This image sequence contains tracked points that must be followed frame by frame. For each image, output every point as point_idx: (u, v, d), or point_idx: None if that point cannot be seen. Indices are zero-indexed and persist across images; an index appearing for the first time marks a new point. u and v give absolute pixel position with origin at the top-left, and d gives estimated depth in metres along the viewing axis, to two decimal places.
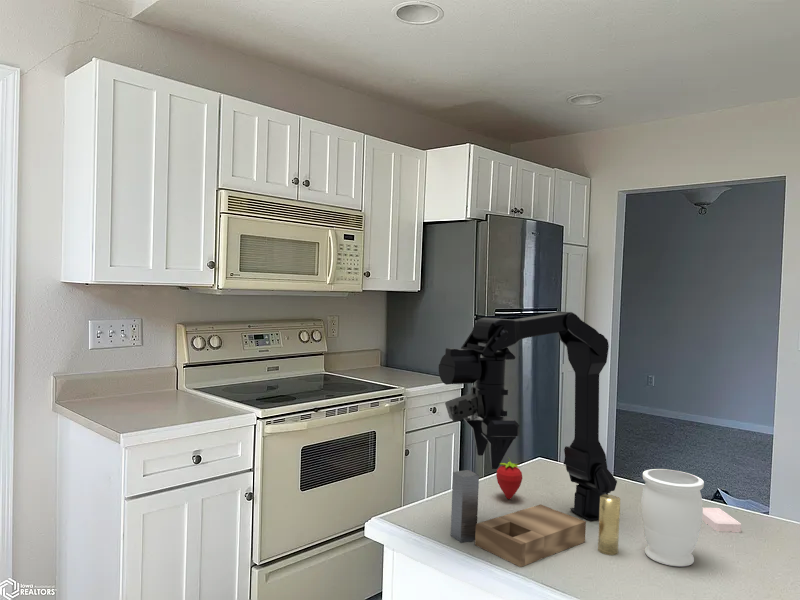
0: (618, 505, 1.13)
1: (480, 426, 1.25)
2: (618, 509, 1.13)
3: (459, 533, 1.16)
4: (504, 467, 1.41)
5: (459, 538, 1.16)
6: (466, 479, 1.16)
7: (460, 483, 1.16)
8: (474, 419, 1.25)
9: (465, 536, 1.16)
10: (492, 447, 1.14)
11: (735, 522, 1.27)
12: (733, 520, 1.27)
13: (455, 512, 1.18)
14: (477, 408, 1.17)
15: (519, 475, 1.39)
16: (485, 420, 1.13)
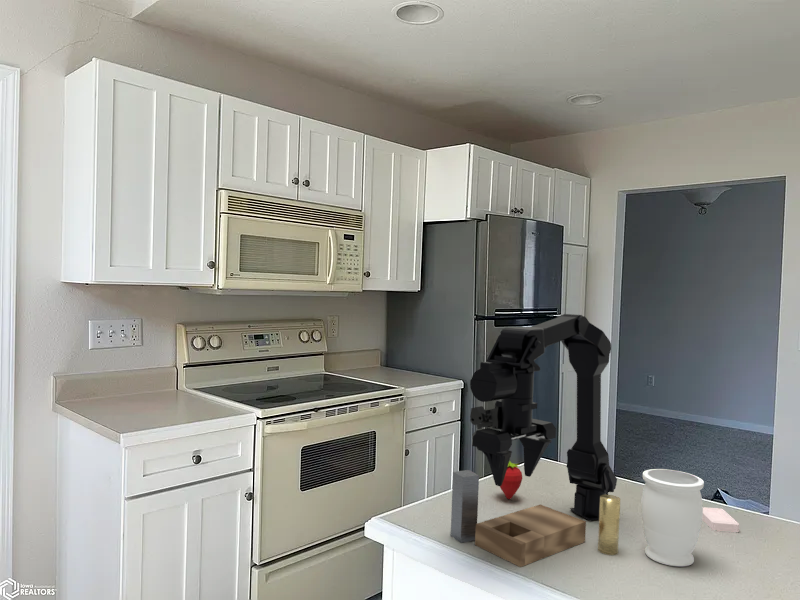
0: (618, 505, 1.13)
1: (529, 445, 1.16)
2: (618, 509, 1.13)
3: (459, 533, 1.16)
4: None
5: (459, 538, 1.16)
6: (466, 479, 1.16)
7: (460, 483, 1.16)
8: (526, 436, 1.18)
9: (465, 536, 1.16)
10: (489, 461, 1.09)
11: (733, 522, 1.26)
12: (731, 520, 1.27)
13: (455, 512, 1.18)
14: (492, 419, 1.13)
15: (519, 475, 1.39)
16: None
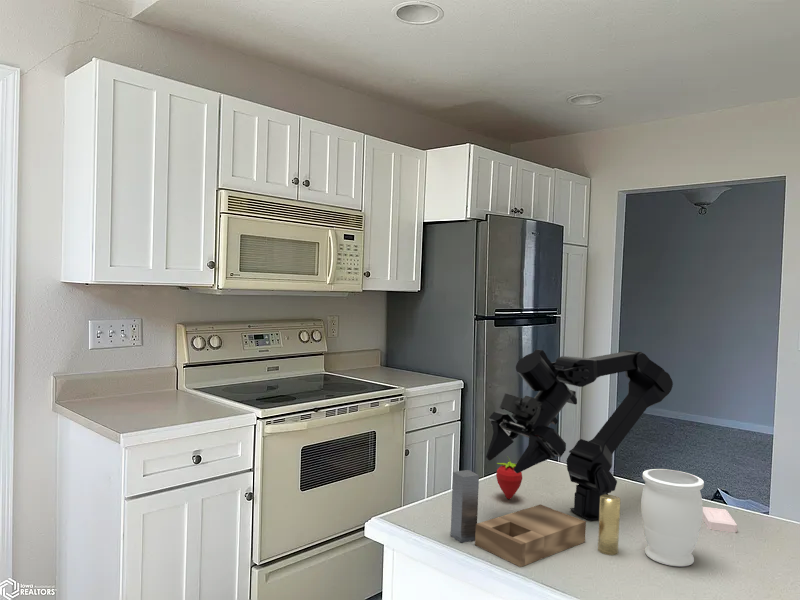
0: (618, 505, 1.13)
1: (503, 436, 1.28)
2: (618, 509, 1.13)
3: (459, 533, 1.16)
4: (504, 467, 1.41)
5: (459, 538, 1.16)
6: (466, 479, 1.16)
7: (460, 483, 1.16)
8: (502, 427, 1.28)
9: (465, 536, 1.16)
10: (531, 452, 1.17)
11: (730, 522, 1.26)
12: (729, 521, 1.27)
13: (455, 512, 1.18)
14: (533, 415, 1.21)
15: (519, 475, 1.39)
16: (542, 426, 1.18)
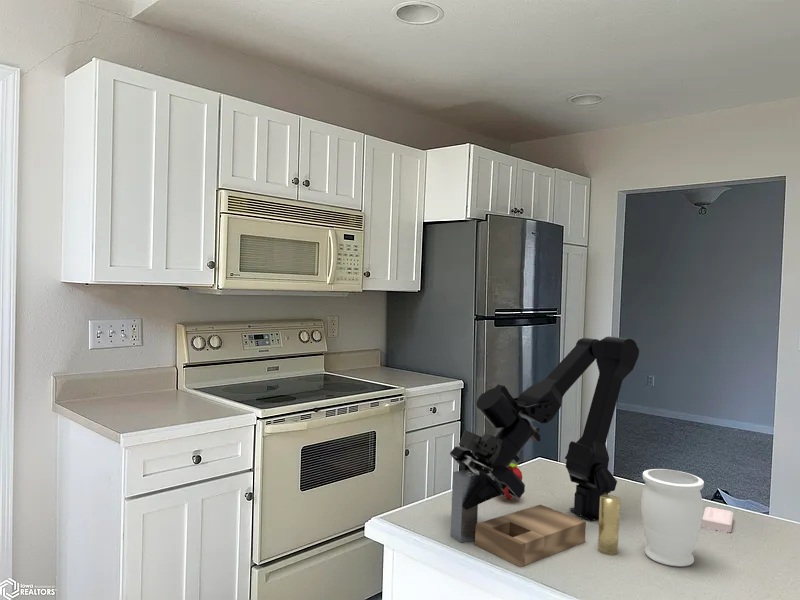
0: (618, 505, 1.13)
1: None
2: (618, 509, 1.13)
3: (459, 533, 1.16)
4: None
5: (459, 538, 1.16)
6: (466, 479, 1.16)
7: (460, 483, 1.16)
8: (470, 467, 1.22)
9: (465, 536, 1.16)
10: (480, 488, 1.15)
11: (724, 522, 1.27)
12: (724, 520, 1.27)
13: (455, 512, 1.18)
14: (493, 453, 1.17)
15: (519, 475, 1.39)
16: (501, 466, 1.14)
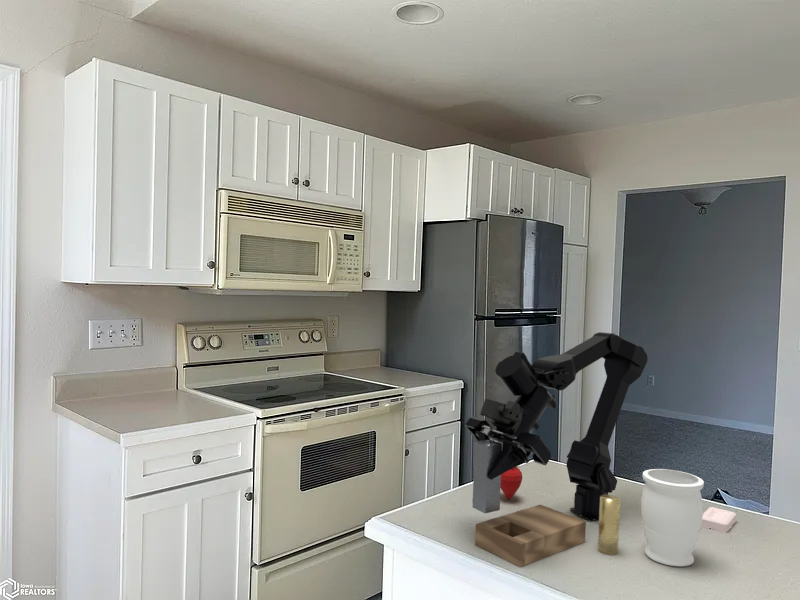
0: (618, 505, 1.13)
1: None
2: (618, 509, 1.13)
3: (483, 504, 1.14)
4: None
5: (483, 509, 1.13)
6: (490, 449, 1.13)
7: (484, 453, 1.13)
8: (489, 437, 1.19)
9: (490, 507, 1.14)
10: (505, 457, 1.13)
11: (720, 522, 1.27)
12: (721, 520, 1.27)
13: (478, 483, 1.15)
14: (515, 421, 1.15)
15: (519, 475, 1.39)
16: (527, 433, 1.12)
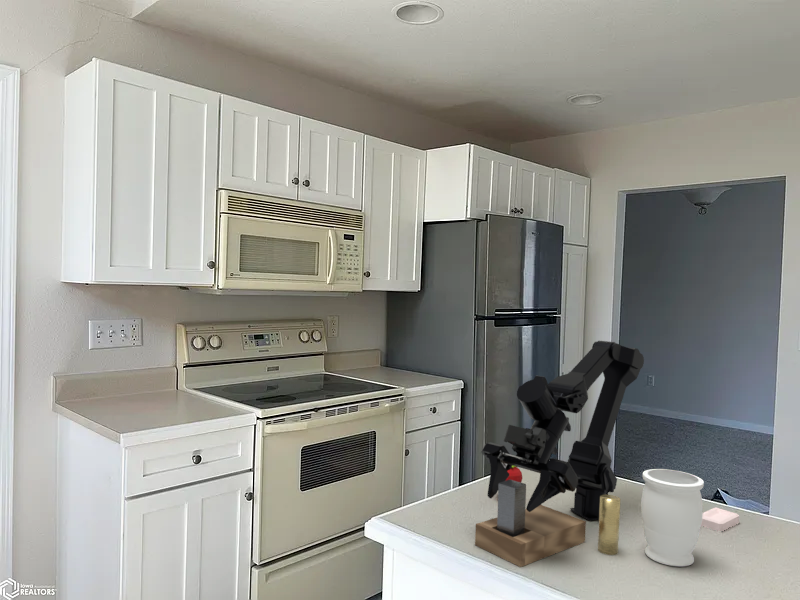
0: (618, 505, 1.13)
1: (501, 470, 1.18)
2: (618, 509, 1.13)
3: None
4: None
5: None
6: (517, 490, 1.11)
7: (511, 495, 1.11)
8: (500, 461, 1.19)
9: None
10: (544, 488, 1.09)
11: (716, 521, 1.27)
12: (718, 519, 1.28)
13: (503, 525, 1.12)
14: (540, 447, 1.14)
15: (519, 475, 1.39)
16: (555, 460, 1.11)
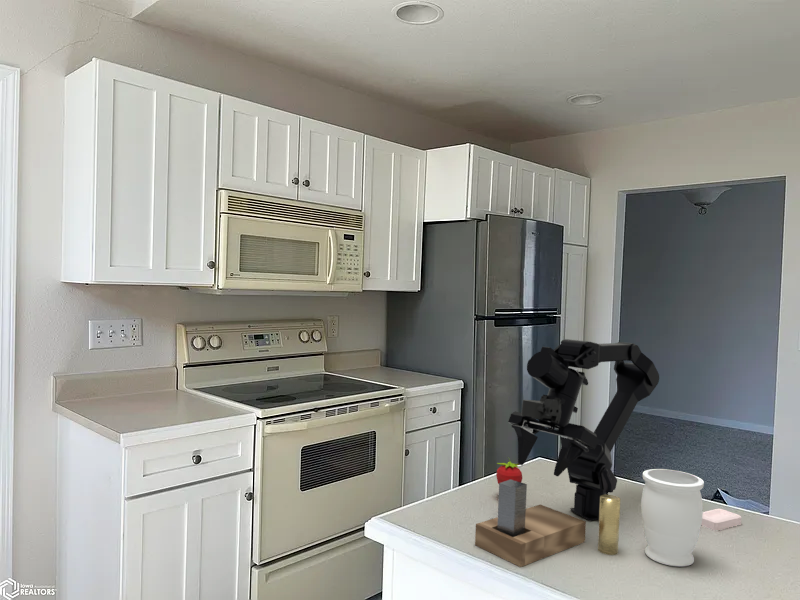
0: (618, 505, 1.13)
1: (527, 437, 1.27)
2: (618, 509, 1.13)
3: None
4: (504, 467, 1.41)
5: None
6: (517, 490, 1.11)
7: (511, 495, 1.11)
8: (524, 428, 1.27)
9: None
10: (566, 453, 1.17)
11: (711, 519, 1.28)
12: (714, 518, 1.28)
13: (503, 525, 1.12)
14: None
15: (519, 475, 1.39)
16: (570, 425, 1.17)
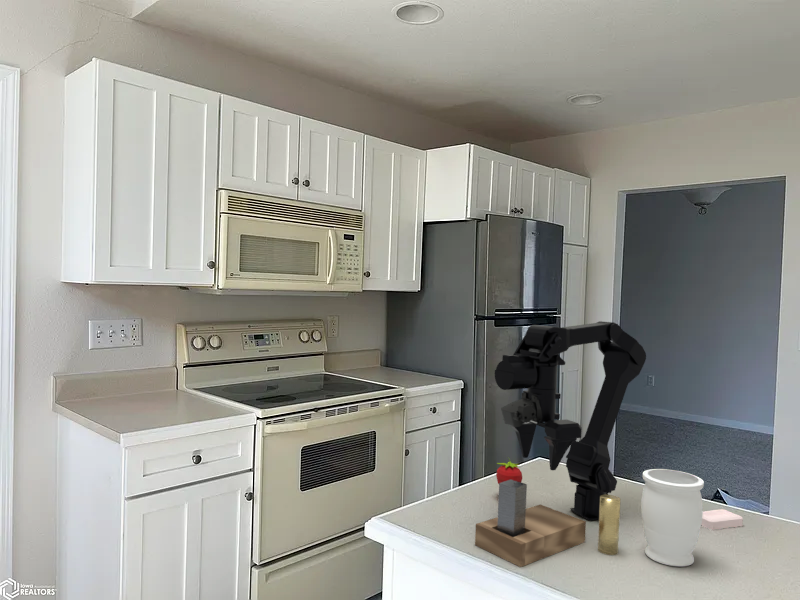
0: (618, 505, 1.13)
1: (525, 429, 1.29)
2: (618, 509, 1.13)
3: None
4: (504, 467, 1.41)
5: None
6: (517, 490, 1.11)
7: (511, 495, 1.11)
8: None
9: None
10: (554, 449, 1.19)
11: (708, 518, 1.28)
12: (711, 518, 1.28)
13: (503, 525, 1.12)
14: (536, 413, 1.21)
15: (519, 475, 1.39)
16: (549, 424, 1.18)
